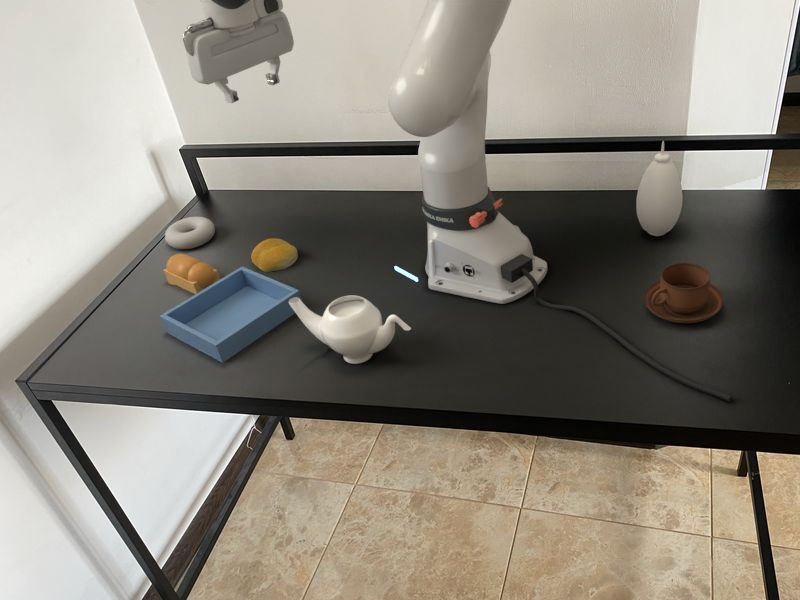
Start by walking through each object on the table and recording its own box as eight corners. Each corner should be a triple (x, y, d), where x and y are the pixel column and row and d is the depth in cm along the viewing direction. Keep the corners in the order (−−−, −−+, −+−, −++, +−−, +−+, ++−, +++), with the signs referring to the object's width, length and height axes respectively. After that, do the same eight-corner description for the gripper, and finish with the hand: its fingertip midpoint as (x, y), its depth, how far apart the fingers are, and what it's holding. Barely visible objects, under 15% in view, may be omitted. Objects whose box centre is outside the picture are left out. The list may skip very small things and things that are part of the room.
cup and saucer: (696, 340, 113) (700, 306, 109) (629, 312, 120) (630, 280, 116) (736, 302, 119) (741, 269, 115) (669, 278, 126) (672, 247, 122)
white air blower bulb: (687, 231, 137) (696, 138, 126) (661, 249, 133) (668, 154, 122) (652, 219, 142) (658, 127, 131) (626, 235, 138) (630, 143, 127)
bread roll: (270, 279, 139) (264, 261, 136) (247, 262, 144) (241, 244, 142) (307, 261, 143) (302, 242, 140) (284, 245, 148) (279, 227, 146)
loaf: (224, 284, 139) (216, 260, 136) (201, 298, 136) (191, 274, 133) (189, 268, 145) (180, 245, 142) (166, 282, 142) (156, 258, 139)
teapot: (405, 381, 112) (395, 332, 106) (288, 364, 118) (273, 317, 112) (427, 342, 119) (419, 294, 113) (316, 328, 125) (303, 282, 119)
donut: (159, 253, 151) (204, 252, 149) (153, 238, 149) (199, 237, 147) (181, 228, 159) (224, 227, 157) (176, 214, 157) (219, 212, 155)
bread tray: (304, 309, 130) (299, 290, 127) (223, 365, 120) (215, 345, 117) (248, 285, 138) (242, 266, 135) (167, 335, 128) (159, 315, 125)
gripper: (191, 30, 117) (217, 115, 126) (288, -4, 129) (307, 76, 138) (168, 26, 121) (195, 110, 129) (265, -7, 132) (284, 72, 141)
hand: (254, 92), depth 133 cm, fingers open, 8 cm apart
